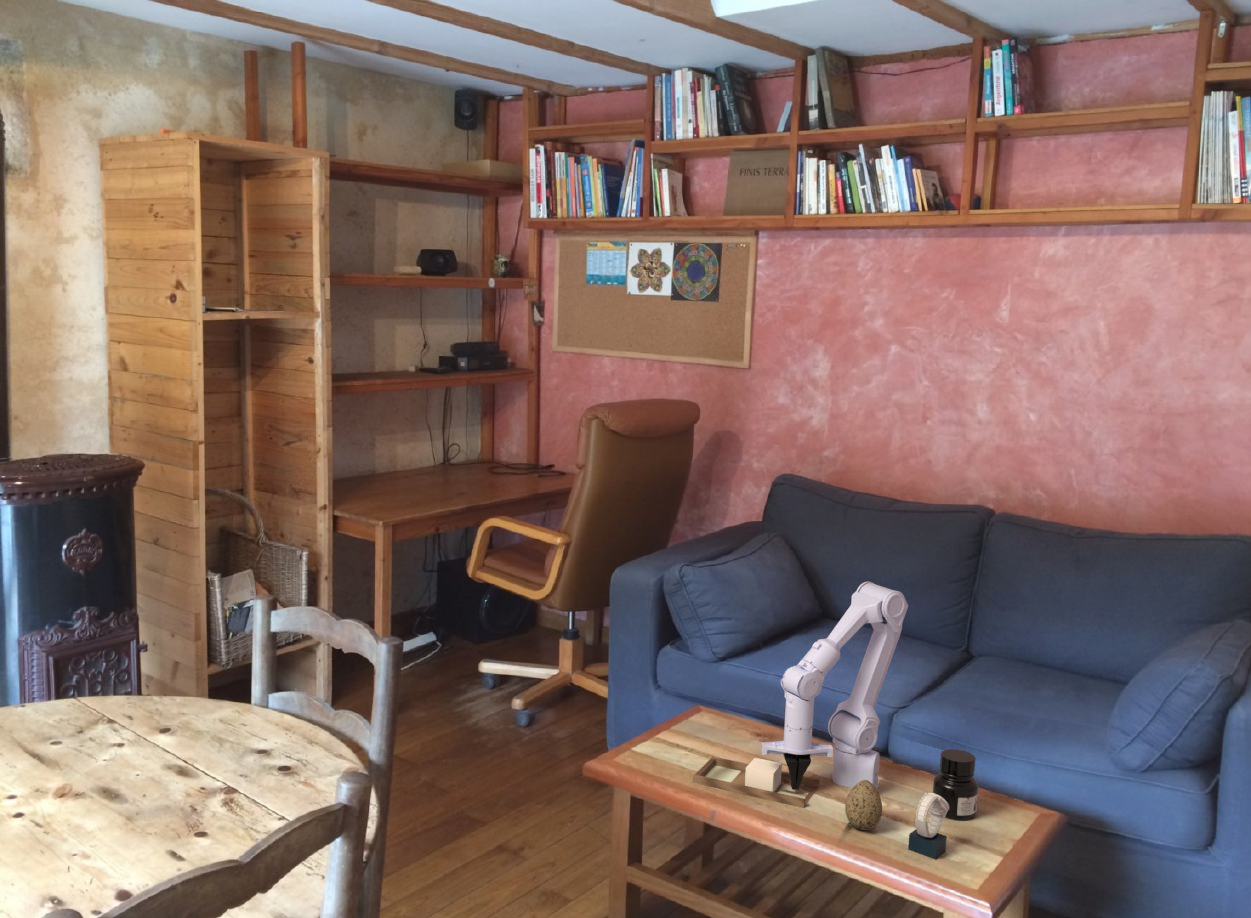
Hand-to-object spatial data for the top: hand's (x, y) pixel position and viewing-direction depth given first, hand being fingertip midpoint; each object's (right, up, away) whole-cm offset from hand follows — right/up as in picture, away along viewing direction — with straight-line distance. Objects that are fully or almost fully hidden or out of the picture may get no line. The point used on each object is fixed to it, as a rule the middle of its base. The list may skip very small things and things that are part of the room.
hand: (794, 787), depth 229 cm
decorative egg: (+12, -5, -12) cm, 17 cm away
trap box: (-8, -2, +4) cm, 9 cm away
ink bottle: (+32, -4, -2) cm, 33 cm away
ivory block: (-6, -1, +3) cm, 7 cm away
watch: (+22, -6, -20) cm, 30 cm away
